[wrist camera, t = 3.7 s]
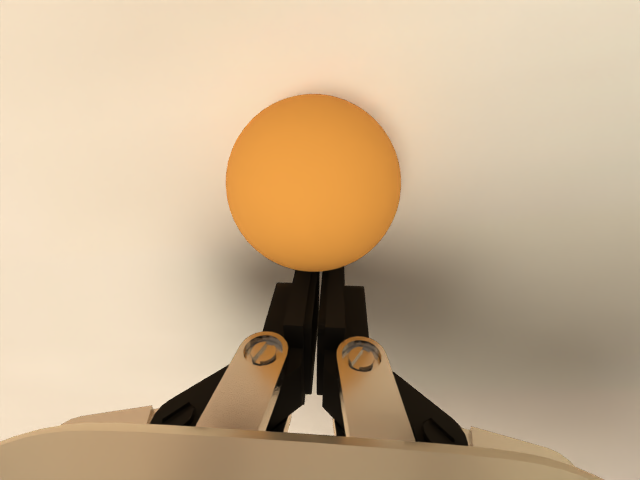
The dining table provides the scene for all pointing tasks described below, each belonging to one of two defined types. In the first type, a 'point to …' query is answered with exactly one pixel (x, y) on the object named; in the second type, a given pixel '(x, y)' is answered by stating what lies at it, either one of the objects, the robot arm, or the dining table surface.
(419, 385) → the dining table surface
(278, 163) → the ball
